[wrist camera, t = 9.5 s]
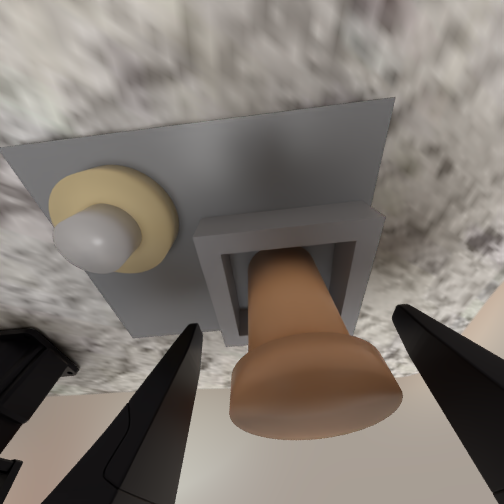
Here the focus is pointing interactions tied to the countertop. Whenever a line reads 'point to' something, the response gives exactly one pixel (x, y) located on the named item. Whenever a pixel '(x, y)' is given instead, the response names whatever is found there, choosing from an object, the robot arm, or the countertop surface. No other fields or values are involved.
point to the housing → (213, 210)
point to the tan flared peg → (304, 358)
